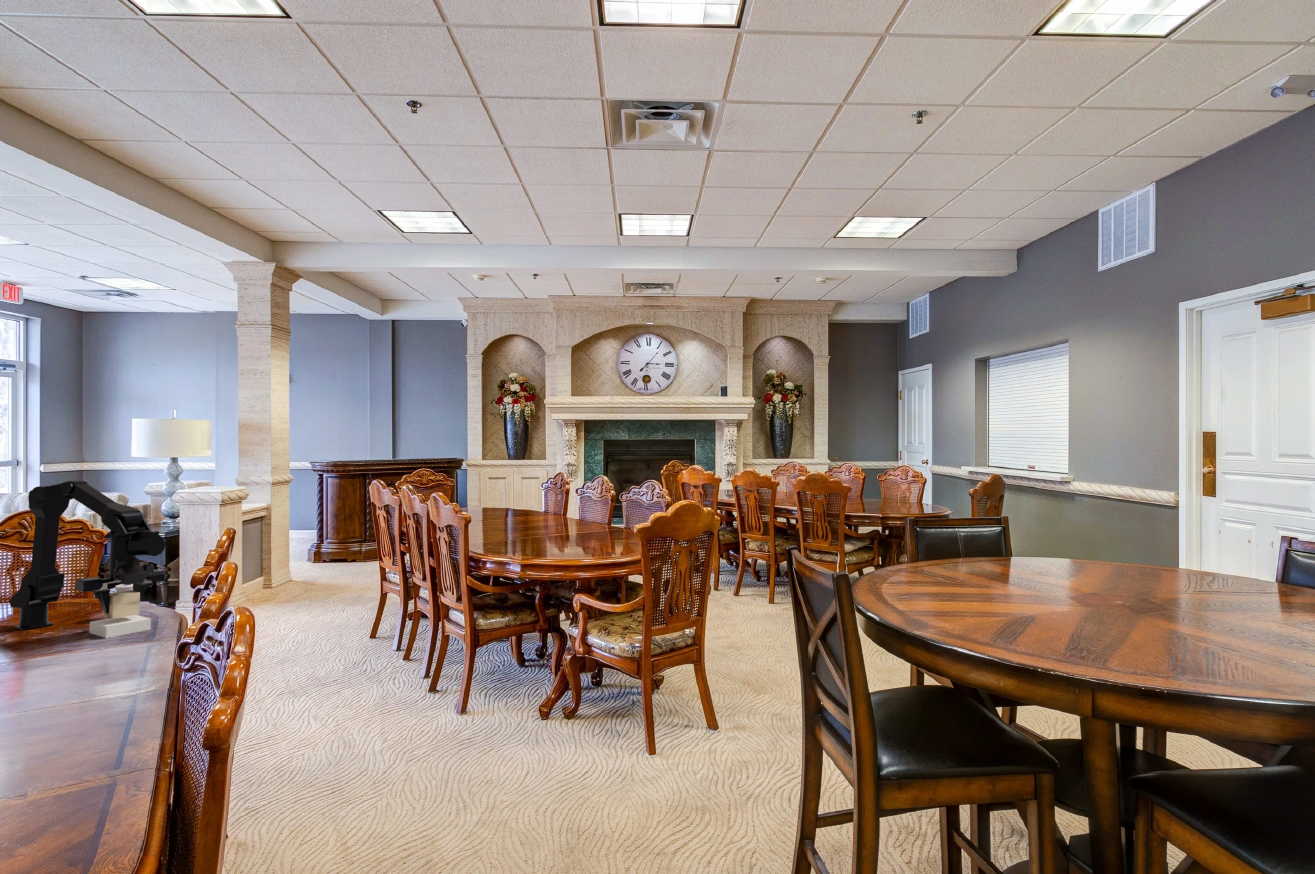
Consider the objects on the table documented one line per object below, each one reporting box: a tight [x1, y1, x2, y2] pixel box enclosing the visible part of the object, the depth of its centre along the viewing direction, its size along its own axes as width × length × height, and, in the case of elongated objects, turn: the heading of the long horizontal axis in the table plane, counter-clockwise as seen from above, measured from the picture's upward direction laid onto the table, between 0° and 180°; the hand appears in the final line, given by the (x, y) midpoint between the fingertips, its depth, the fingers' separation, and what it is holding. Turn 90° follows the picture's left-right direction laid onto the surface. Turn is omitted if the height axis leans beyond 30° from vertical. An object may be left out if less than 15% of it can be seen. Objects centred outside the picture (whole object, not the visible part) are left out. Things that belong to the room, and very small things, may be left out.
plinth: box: [89, 614, 152, 639], centre depth 175 cm, size 10×10×3 cm
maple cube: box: [102, 590, 141, 619], centre depth 175 cm, size 6×6×6 cm
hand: (120, 611), depth 175 cm, fingers closed on maple cube, 6 cm apart
